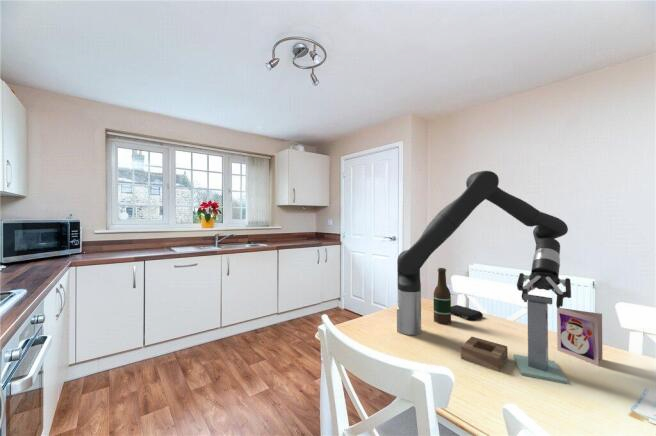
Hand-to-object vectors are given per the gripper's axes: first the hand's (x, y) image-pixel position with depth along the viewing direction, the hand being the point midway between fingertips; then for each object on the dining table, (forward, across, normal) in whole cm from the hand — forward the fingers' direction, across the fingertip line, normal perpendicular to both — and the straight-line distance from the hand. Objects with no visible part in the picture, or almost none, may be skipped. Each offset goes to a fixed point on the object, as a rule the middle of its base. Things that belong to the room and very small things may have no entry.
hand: (541, 303), depth 89 cm
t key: (+17, 0, +8) cm, 19 cm away
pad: (+18, 0, +9) cm, 20 cm away
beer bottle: (+5, -37, +22) cm, 44 cm away
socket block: (+21, -14, +5) cm, 26 cm away
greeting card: (+4, +9, +23) cm, 25 cm away
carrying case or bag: (-6, -33, +33) cm, 47 cm away
